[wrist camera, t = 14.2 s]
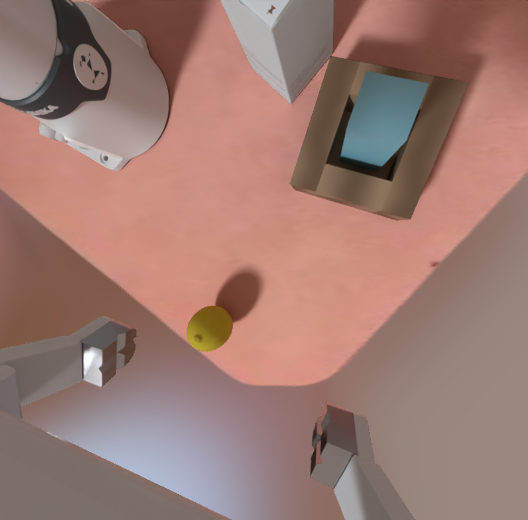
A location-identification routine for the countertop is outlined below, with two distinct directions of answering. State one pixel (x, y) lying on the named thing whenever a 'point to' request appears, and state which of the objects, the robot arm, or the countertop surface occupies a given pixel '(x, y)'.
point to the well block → (399, 164)
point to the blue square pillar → (381, 119)
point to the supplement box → (284, 39)
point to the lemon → (209, 328)
